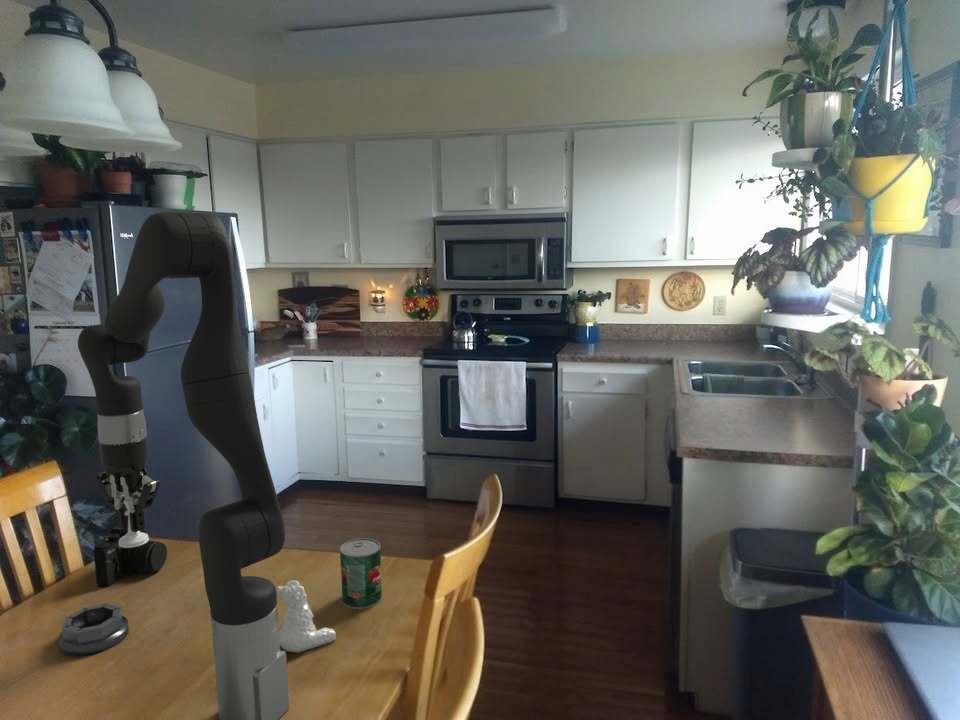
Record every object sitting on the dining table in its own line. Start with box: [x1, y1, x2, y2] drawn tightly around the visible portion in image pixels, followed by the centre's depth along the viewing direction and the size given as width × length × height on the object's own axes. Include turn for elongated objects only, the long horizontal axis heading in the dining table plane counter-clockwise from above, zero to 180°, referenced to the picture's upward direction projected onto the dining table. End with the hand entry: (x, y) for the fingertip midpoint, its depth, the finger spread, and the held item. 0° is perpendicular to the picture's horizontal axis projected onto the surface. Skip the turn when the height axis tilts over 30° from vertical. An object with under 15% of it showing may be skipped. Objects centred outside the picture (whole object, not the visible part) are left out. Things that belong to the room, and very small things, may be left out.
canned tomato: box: [339, 537, 383, 610], centre depth 134 cm, size 8×8×11 cm
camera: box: [93, 524, 168, 588], centre depth 146 cm, size 14×11×10 cm
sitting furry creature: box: [276, 579, 337, 654], centre depth 119 cm, size 10×9×12 cm
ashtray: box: [57, 603, 130, 657], centre depth 122 cm, size 11×11×4 cm
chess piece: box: [119, 493, 150, 548], centre depth 122 cm, size 5×5×10 cm
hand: (132, 528), depth 122 cm, fingers closed on chess piece
